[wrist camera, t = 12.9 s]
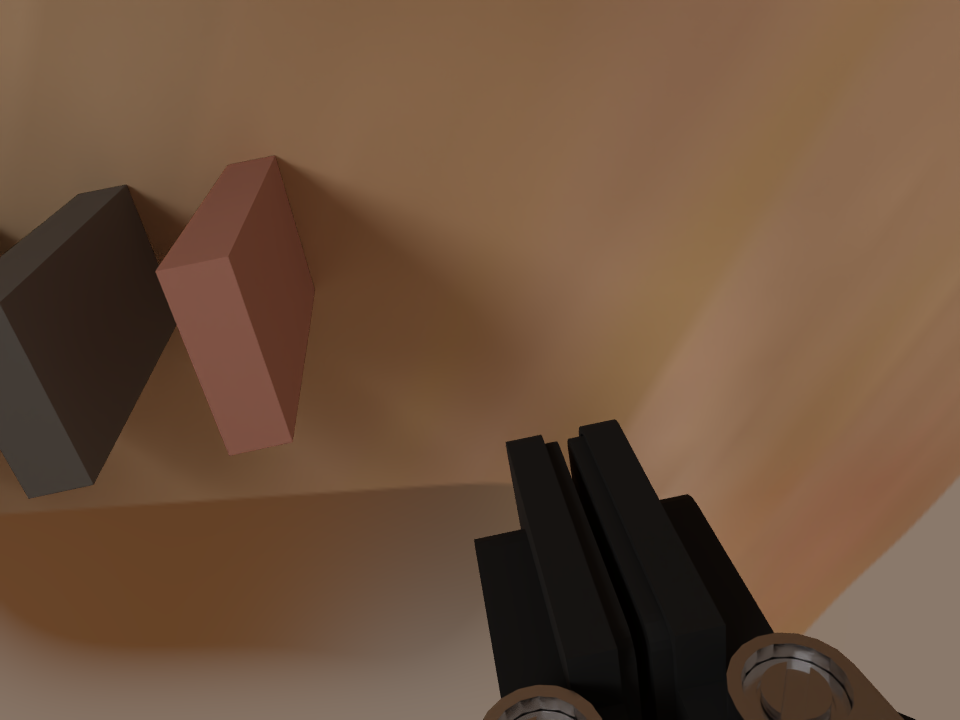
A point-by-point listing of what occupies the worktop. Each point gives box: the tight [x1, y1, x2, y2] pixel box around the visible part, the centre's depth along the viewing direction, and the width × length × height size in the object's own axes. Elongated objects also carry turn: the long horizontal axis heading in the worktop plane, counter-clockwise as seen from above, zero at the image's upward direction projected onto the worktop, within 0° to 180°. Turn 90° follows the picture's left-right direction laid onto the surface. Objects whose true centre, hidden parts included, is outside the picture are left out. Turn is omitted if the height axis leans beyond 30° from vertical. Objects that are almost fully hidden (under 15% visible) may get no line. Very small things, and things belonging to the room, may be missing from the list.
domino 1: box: [0, 185, 177, 499], centre depth 22 cm, size 2×5×10 cm, turn 9°
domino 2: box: [155, 156, 315, 456], centre depth 22 cm, size 2×5×10 cm, turn 10°
